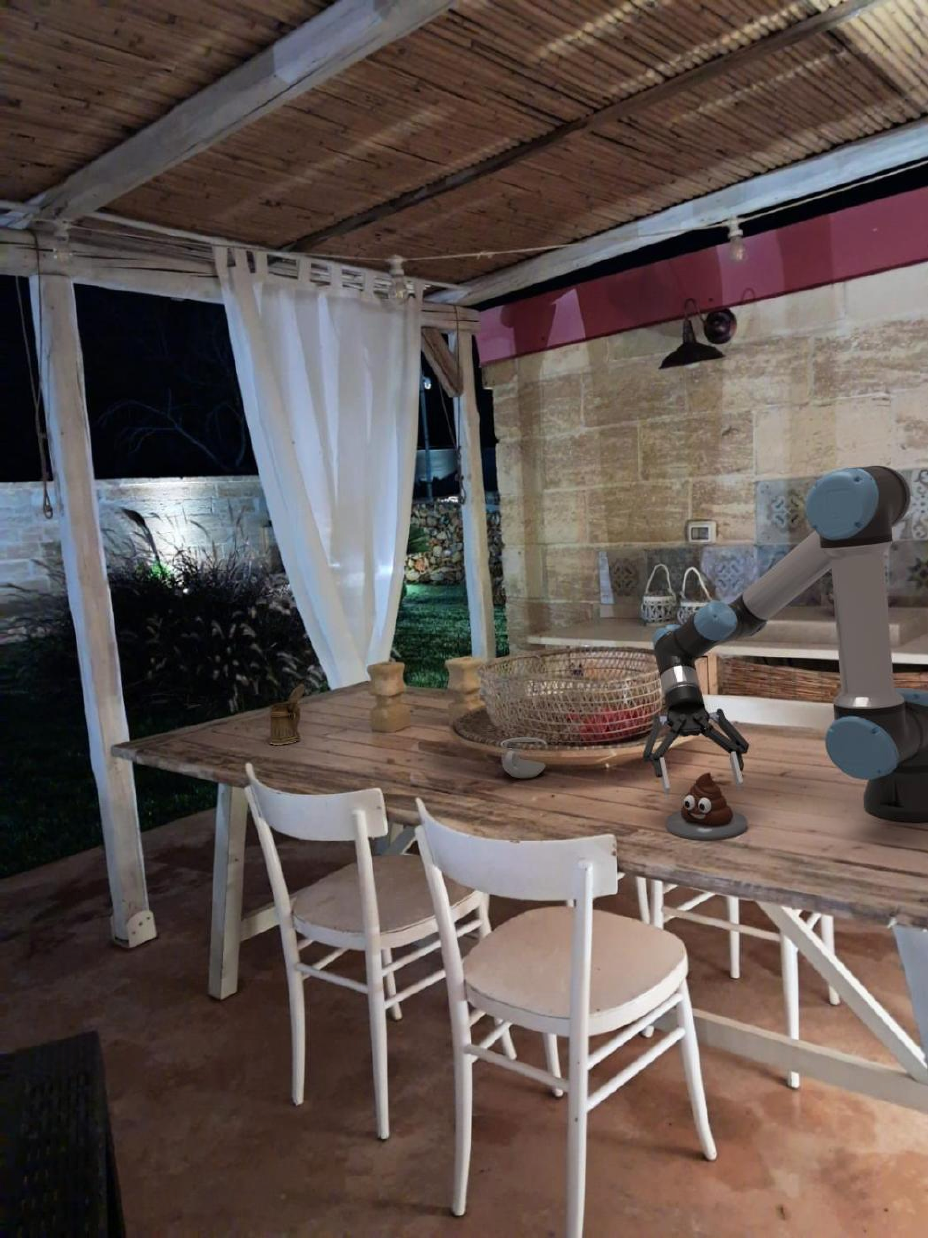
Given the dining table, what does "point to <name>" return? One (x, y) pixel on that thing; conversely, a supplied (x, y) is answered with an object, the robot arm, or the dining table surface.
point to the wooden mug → (286, 718)
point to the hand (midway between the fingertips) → (703, 788)
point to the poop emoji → (706, 803)
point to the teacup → (521, 760)
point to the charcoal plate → (705, 828)
